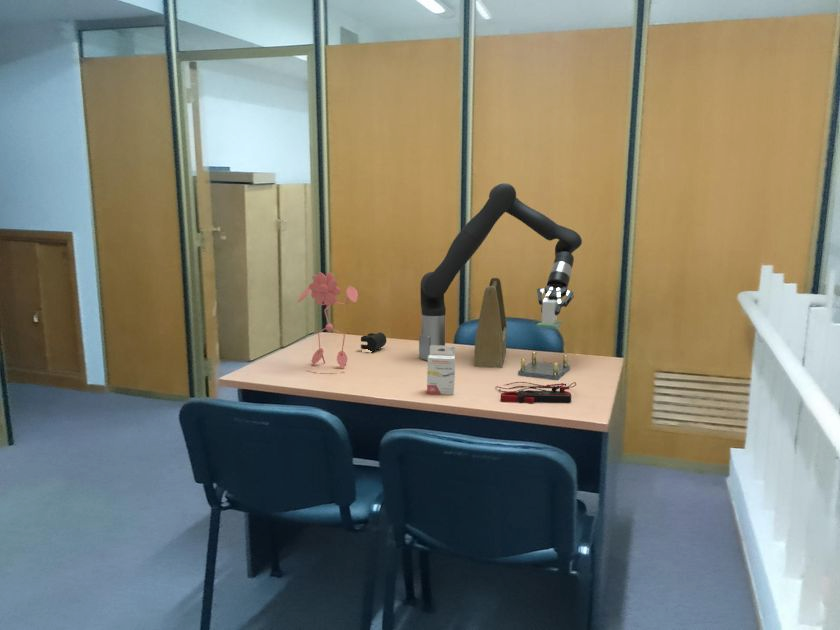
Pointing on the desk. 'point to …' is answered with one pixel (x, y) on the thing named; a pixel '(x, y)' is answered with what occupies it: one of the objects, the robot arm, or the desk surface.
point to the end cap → (373, 341)
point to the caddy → (491, 328)
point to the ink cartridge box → (441, 370)
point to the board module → (549, 315)
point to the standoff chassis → (544, 368)
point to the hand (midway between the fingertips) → (549, 313)
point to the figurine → (326, 293)
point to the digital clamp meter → (537, 394)
